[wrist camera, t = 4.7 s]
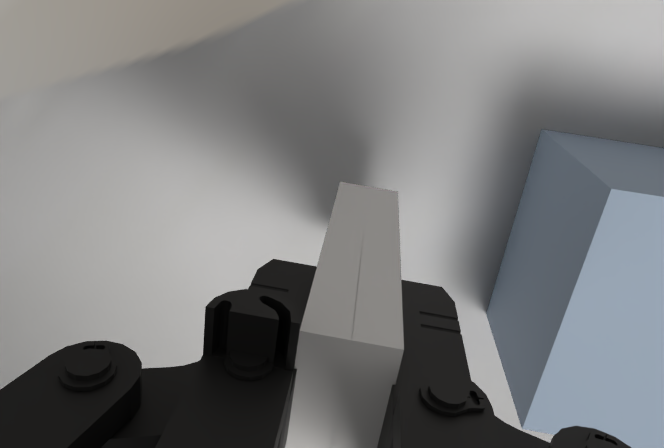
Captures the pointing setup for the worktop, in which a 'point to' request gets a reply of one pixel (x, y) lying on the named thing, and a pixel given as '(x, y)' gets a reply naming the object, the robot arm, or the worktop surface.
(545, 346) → the block
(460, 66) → the worktop surface
